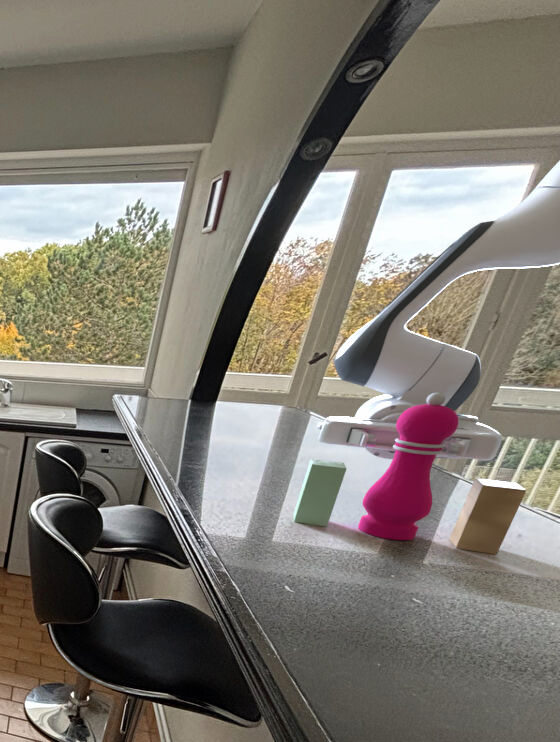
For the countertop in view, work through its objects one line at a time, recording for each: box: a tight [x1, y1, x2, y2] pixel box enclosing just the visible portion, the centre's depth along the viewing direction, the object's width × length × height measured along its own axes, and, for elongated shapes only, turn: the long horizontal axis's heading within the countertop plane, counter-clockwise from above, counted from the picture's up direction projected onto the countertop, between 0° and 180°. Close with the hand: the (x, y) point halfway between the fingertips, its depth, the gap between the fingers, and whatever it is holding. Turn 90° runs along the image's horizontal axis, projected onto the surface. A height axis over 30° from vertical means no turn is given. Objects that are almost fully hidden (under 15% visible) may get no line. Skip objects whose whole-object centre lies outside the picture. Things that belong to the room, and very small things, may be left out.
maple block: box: [449, 477, 527, 556], centre depth 79 cm, size 4×4×9 cm
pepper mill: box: [357, 393, 459, 541], centre depth 82 cm, size 7×7×20 cm
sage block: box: [292, 458, 347, 528], centre depth 88 cm, size 4×4×9 cm
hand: (411, 446), depth 84 cm, fingers open, 8 cm apart
